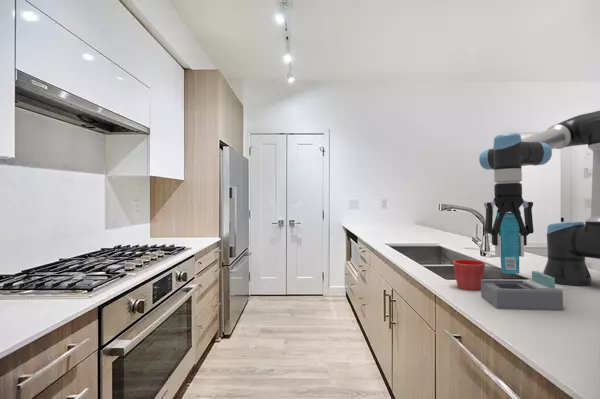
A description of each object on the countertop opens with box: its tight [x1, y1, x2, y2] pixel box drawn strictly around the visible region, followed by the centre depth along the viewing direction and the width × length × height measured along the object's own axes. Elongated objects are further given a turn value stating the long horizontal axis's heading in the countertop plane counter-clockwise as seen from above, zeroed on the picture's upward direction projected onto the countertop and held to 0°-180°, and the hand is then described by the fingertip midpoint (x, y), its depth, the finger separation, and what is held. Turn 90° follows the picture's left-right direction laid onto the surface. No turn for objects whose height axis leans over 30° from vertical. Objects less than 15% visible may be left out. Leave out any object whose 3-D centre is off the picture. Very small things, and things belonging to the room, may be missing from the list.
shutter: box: [521, 270, 567, 292], centre depth 107 cm, size 7×10×4 cm
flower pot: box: [452, 259, 486, 291], centre depth 128 cm, size 11×11×10 cm
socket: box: [480, 279, 564, 311], centre depth 108 cm, size 18×13×6 cm
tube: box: [496, 211, 520, 275], centre depth 109 cm, size 7×5×19 cm, turn 96°
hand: (509, 255), depth 109 cm, fingers closed on tube, 6 cm apart
